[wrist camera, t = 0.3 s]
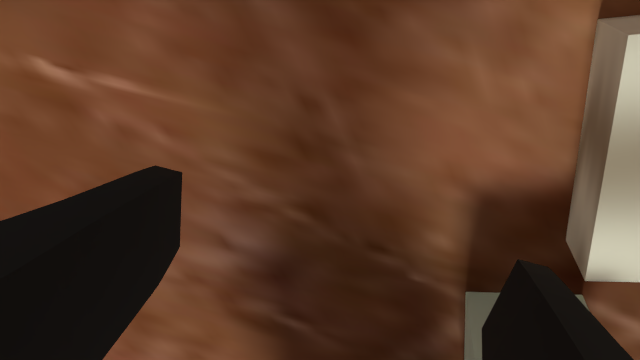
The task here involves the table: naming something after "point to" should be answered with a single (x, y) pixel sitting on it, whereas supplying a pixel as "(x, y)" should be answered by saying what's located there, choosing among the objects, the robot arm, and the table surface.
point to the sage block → (480, 320)
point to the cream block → (609, 159)
